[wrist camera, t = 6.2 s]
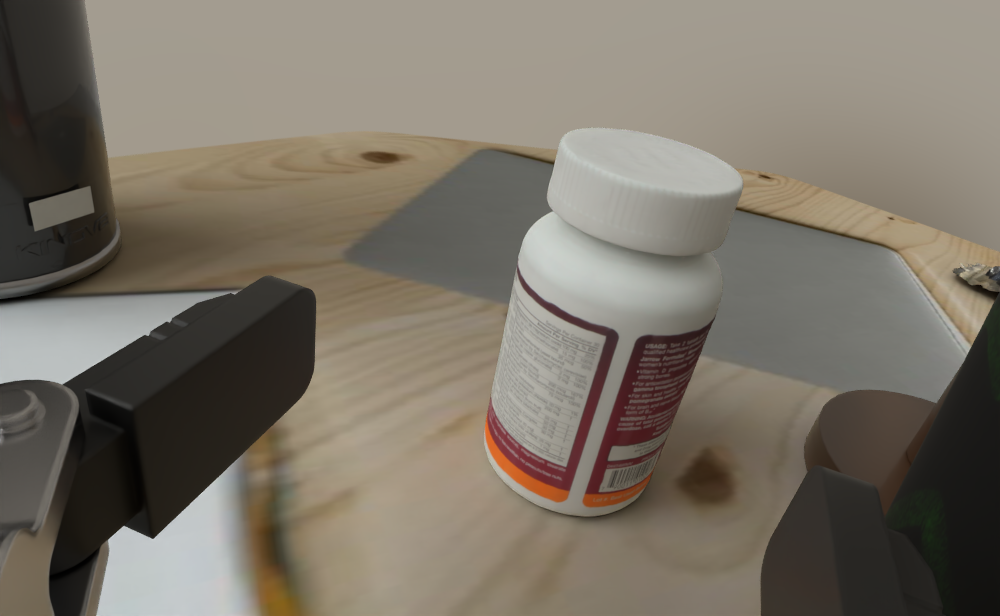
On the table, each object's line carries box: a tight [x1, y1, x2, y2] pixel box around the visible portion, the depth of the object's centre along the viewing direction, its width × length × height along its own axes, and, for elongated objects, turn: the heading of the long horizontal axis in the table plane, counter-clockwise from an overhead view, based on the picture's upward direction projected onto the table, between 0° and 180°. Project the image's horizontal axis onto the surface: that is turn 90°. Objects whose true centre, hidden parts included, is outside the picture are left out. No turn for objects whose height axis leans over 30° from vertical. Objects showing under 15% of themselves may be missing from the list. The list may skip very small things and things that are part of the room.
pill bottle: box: [484, 128, 743, 516], centre depth 21 cm, size 6×6×11 cm
